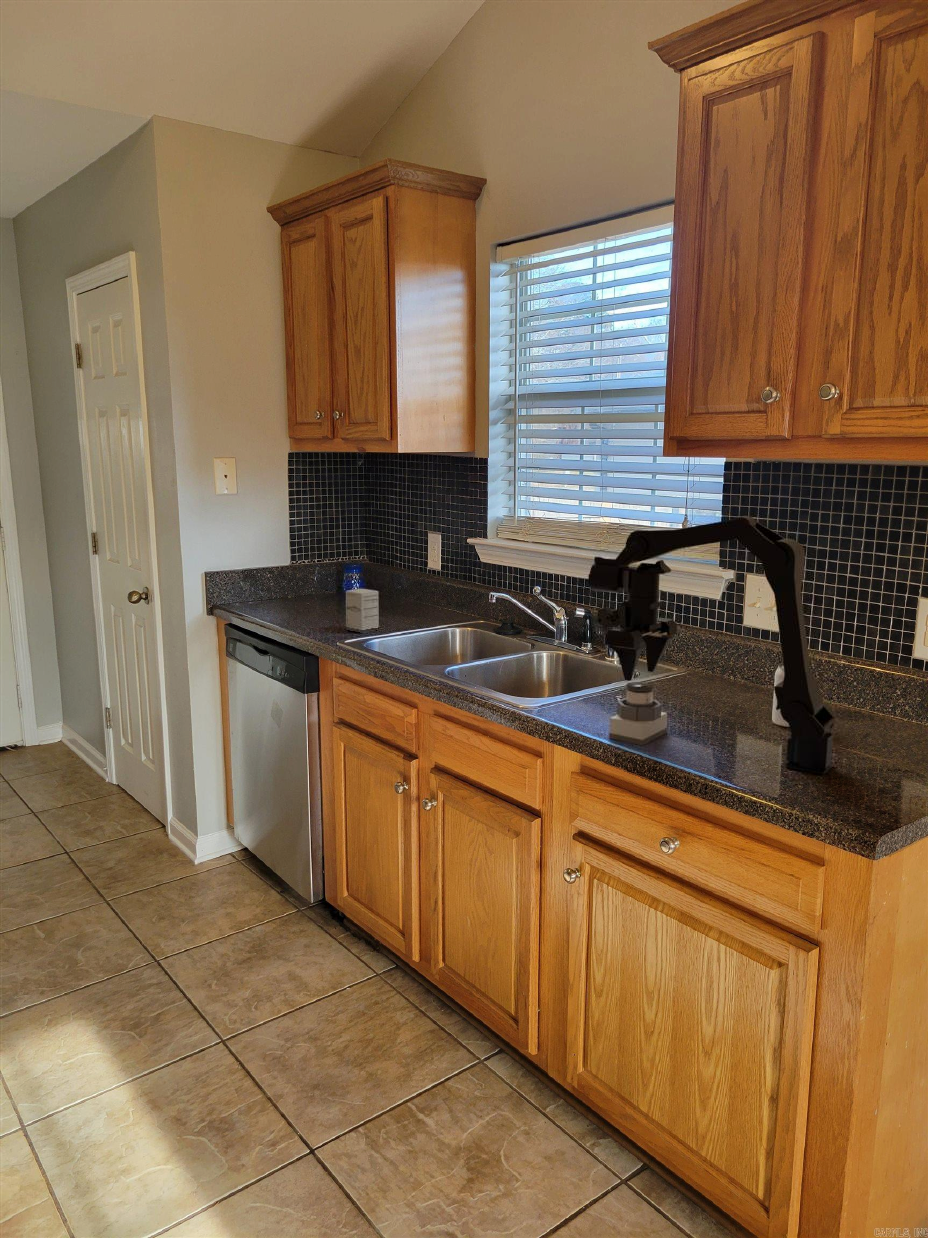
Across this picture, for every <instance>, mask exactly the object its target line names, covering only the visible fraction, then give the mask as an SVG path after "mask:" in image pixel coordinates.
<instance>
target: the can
mask: <svg viewBox="0 0 928 1238" xmlns="http://www.w3.org/2000/svg"><path fill="white" fill-rule="evenodd" d="M783 680H784V666H783V662H782V663H778V664H777V669H776V670H775V673H774V685H773V688H774V687H775V686H776V685H778V684H779V683H780V682H782V681H783ZM776 707H777V698H776V694H775V690H774V689H773V700H772V716H771V717H772V719H771V721H772V722H773V723H774V725H776V726H779V727H782V726H783V727H784V728H789V729H790V727H789V724H788V722H786V721H785V720H783V718H782V716H781V713H780V709H779V710H776Z"/></svg>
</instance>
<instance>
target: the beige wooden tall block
mask: <svg viewBox="0 0 928 1238" xmlns="http://www.w3.org/2000/svg"><path fill="white" fill-rule="evenodd" d="M379 611H380V610H379V591H378V590H374V589H368V588H356V589H349V590H348V589H347V590H346V591H345V628H346V627H349V628H354V629H359V630H366V629H371V628H378V627H380V626H379V625H380V623H379Z"/></svg>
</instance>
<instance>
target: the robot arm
mask: <svg viewBox="0 0 928 1238" xmlns="http://www.w3.org/2000/svg"><path fill="white" fill-rule="evenodd" d="M733 540H734V541H735V540H736V541H738V542H739V543H740V544H742V546H743V547H744V548H746V549H747V550H748V552H749V553H751V554H752V555H753V556H755V557H756V558H757V559H758V560H759V561H760V562H761V566H762V568H763V572H764V575H765V576H764V577H765V578H766V582H767V583H768V584H769V587H770V588H771V590H772V592H773V595H774V601H775V610H776V617H777V625H778V631H779V632H778V633H779V640H780V651H781V657H782V663H783V666H784V680H783V681H782V682H780V683H779V684H778V685H776V686H775V687H774V686H773V691H774V690H775V694H776V698H777V707H776V710H779V709H780V713H781V716H782V718H783V720H785V721H786V722H788V724H789V727H790V728H789V727H788V728H789V731H790V736H789V738H787V743H786V744H787V745H786V757H785V758H786V763H785V768H789V769H793V770H797V771H803V772H808V773H811V774H817V775H825V774H826V773H827V772H828V771H829V770H830V769H832V768H833V767H834V766H835V762H833V761H832V752H833V742H834V734H833V733H831V732H829V731H830V730H832V729H833V727H834V725H835V723H836V721H837V717H835V716H834V715H833V713H831V711H830V710H829V709H828V708H827V707H826V706H825V704H824V703H825V702H824V699H823V696H822V692H821V690H820V687H819V683H818V682H817V681H818V680H817V679H816V677H815V676H814V674H813V672H812V670H811V669H812V668H811V663H810V662H811V661H810V655H809V654H810V653H809V648H808V640H807V639H808V638H807V631H806V623H805V616H804V608H803V607H804V606H803V600H802V591H801V590H802V583H803V579H804V574H805V561H806V560H805V559H806V552H805V548H804V547H803V545H802V544H801V543H799V542H798V541H797V540H795V539H793V538H784V537H783V536H782V535H780V534H779V533H777V532H776V531H774V530H773V529H770V528H769V527H766V526H764V525H763V524H762V523H759V521H757V520H756V519H755V518H753V517H752V516H749V515H743V516H736V517H735V518H732V519H728V520H722V521H717V522H710V523H706V524H701V525H700V524H699V525H693V526H689V527H683V528H667V527H666V528H663V527H662V528H661V527H657V528H655V527H654V528H653V527H651V528H645V529H637V530H634V531H632V532H630V533H629V534H628V537H627V538H626V541H625V546H624V547H623V548H622V550H621V552H620V553H619V554H618V555H617V556H616V557H608V556H605V555H598V556H594V562H593V564H591V568H590V570H589V573H588V578H587V579H588V586H589V588H590V590H591V591H593V592H604V593H605V592H606V593H614V594H616V593H617V594H622V593H623V592H624V590H625V589H627V599H624V600H623V601H622V602H621V608H617V609H613V610H612V609H611V608H610V607H609V606H605V607H602V608H598V609H597V613H596V620H595V622H596V624H598V625H599V626H601V629H602V631H604V630H607V631H606V632H604V634H603V645H607V646H608V648H609V649H611V650H613V651H614V652H615V653H616V655H617V658H618V659H619V663H620V667H621V671H622V675H623V677H624V680H625V681H630V682H631V681H632V678H633V676H634V674H635V670H636V667H637V664H638V661H639V659H640V657H641V653H642V651H643V647H642V646H641V645H642V643H643V642H644V643H645V653H646V667H647V671H648V672H650V673H654V672H655V669H656V668H657V666H658V664H659V663H660V660H661V658H662V656H663V655H664V654H665V651H666V649H667V647H668V646H669V644H670V643H671V641H672V640H673V638H674V635H677V631H678V624H677V623H676V621H675V620H674V619H672V618H665V617H659V616H658V613H659V608H660V607H663V600H659V597H660V596H659V593H660V577H661V576H660V575H666V574H669V573H671V572H672V569H671V567H669V566H668V565H667V564H666V563H665V562H664V560H663V559H660V560H657V561H656V562H655V563H653V562H652V563H651V562H650V563H649V562H643V561H648V560H652V559H656V558H659V557H662V556H664V555H665V556H666V555H667V554H671V553H672V552H675V551H677V550H680V549H685V548H686V549H687V548H692V547H697V546H704V545H711V544H717V543H724V542H728V541H733ZM640 562H641V563H640ZM637 563H639V564H638V566H630V565H633V564H637ZM608 628H609V629H608Z"/></svg>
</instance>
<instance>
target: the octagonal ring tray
mask: <svg viewBox="0 0 928 1238" xmlns="http://www.w3.org/2000/svg"><path fill="white" fill-rule="evenodd" d="M616 705H617V707H616V709H617V710H616V711H617V712H616V715H614V716H613V715H612V716H611V717H609V733H608V739H614V740H617V741H621V742H626V743H631V744H635V745H640V746H643V745H645V744H647V743H649V742H651V741H653V740H655V739H658V738H659V737H661V736H663V735H665V734H666V733H668V732H667V730H668V724H667V722H668V713H667V712H663V711H662V703H661V702H659V701H658V700H656V699H653V707H645V708H637V707H631V706H626V697H624V698H621V699H619V700H618V701H617V703H616Z"/></svg>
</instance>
